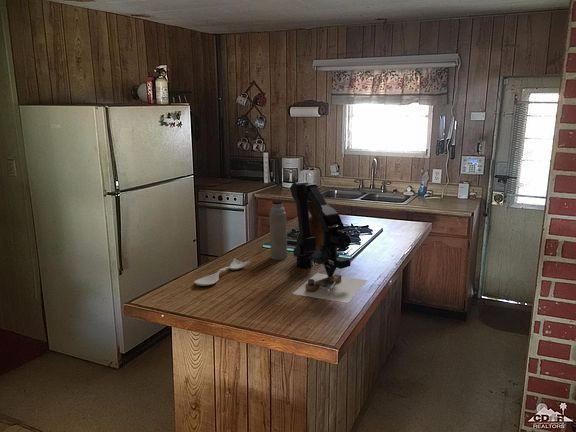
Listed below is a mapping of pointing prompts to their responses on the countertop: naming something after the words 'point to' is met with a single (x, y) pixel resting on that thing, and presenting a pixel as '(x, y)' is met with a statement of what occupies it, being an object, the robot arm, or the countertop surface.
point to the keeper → (327, 287)
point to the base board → (334, 289)
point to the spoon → (214, 277)
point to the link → (317, 284)
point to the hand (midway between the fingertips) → (329, 278)
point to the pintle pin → (310, 282)
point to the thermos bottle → (278, 231)
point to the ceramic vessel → (315, 224)
